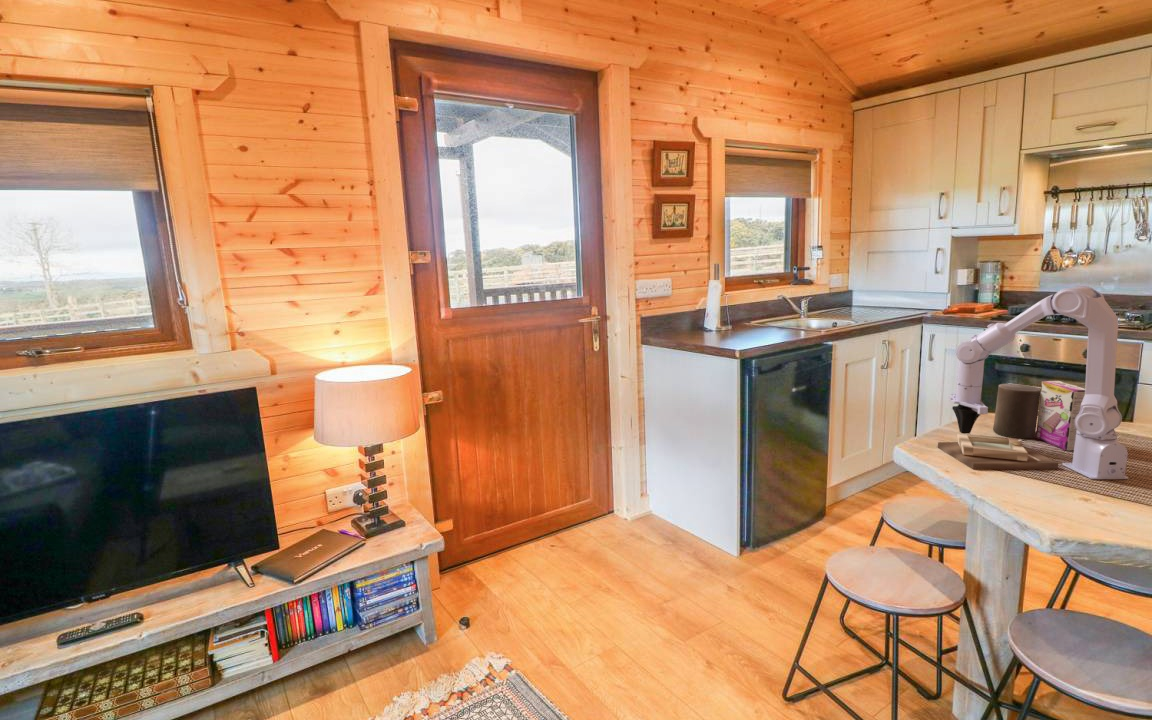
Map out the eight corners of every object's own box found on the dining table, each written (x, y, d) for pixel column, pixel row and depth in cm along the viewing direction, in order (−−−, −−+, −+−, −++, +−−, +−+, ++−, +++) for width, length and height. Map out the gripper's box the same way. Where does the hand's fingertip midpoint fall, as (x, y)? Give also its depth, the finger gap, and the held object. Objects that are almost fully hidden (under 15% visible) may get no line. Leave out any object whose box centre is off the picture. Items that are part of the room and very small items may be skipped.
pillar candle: (1016, 440, 162) (1023, 387, 159) (984, 430, 171) (990, 380, 168) (1044, 437, 164) (1051, 385, 161) (1011, 427, 173) (1017, 378, 170)
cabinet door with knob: (1027, 461, 141) (1028, 451, 141) (963, 454, 147) (964, 445, 147) (1016, 445, 152) (1017, 436, 152) (956, 440, 158) (957, 431, 157)
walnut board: (1057, 468, 141) (1058, 462, 140) (972, 469, 142) (973, 463, 142) (1013, 447, 156) (1014, 441, 156) (937, 447, 158) (938, 441, 158)
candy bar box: (1033, 438, 163) (1040, 380, 160) (1052, 437, 163) (1059, 380, 160) (1065, 451, 152) (1073, 390, 149) (1085, 451, 152) (1093, 389, 149)
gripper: (939, 379, 166) (935, 425, 168) (969, 391, 151) (964, 441, 154) (965, 378, 165) (961, 424, 167) (998, 390, 151) (993, 441, 153)
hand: (964, 432), depth 161 cm, fingers closed
